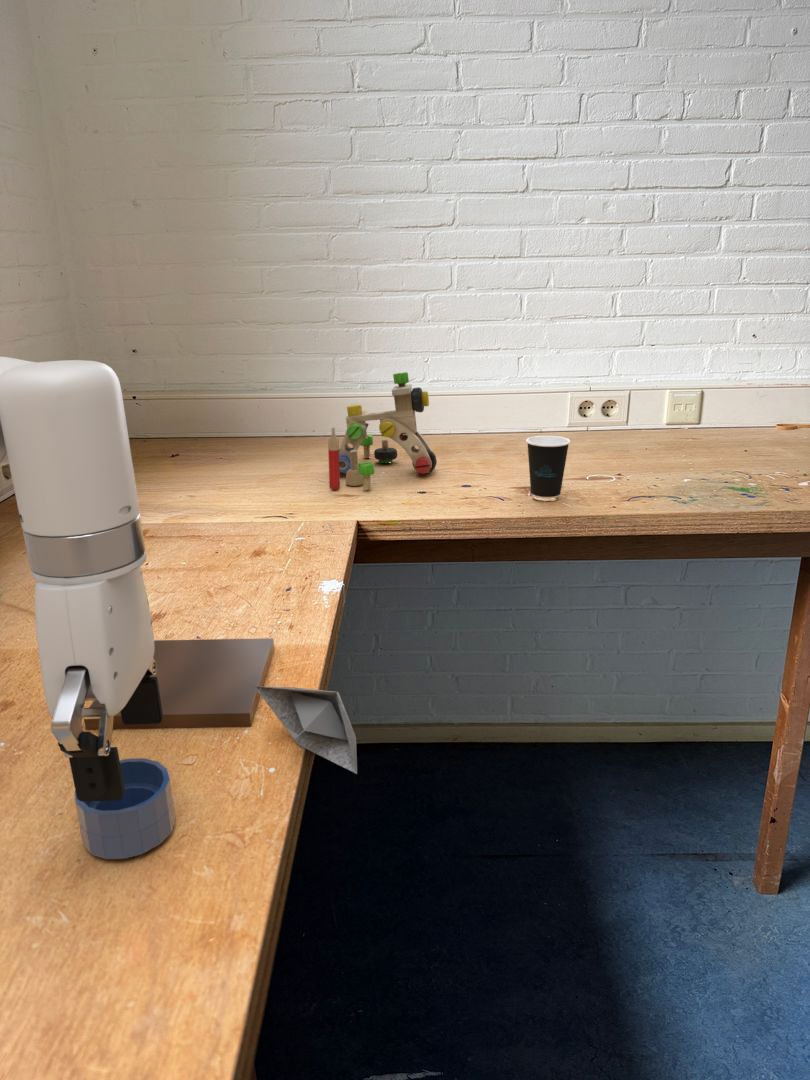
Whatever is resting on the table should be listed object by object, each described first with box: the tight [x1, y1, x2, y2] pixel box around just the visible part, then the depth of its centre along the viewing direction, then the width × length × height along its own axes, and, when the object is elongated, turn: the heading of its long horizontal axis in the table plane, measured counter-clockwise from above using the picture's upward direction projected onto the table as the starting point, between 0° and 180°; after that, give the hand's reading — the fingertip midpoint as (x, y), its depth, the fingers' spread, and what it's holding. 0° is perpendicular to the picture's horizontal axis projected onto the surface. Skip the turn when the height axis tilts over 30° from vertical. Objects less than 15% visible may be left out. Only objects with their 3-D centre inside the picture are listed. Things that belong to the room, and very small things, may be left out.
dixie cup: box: [525, 435, 571, 499], centre depth 146 cm, size 8×8×11 cm
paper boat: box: [254, 686, 358, 775], centre depth 72 cm, size 12×6×9 cm
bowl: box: [74, 757, 176, 860], centre depth 62 cm, size 7×7×5 cm
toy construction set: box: [327, 371, 438, 491], centre depth 161 cm, size 27×22×21 cm
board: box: [83, 637, 275, 730], centre depth 84 cm, size 16×16×2 cm
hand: (124, 757), depth 60 cm, fingers open, 9 cm apart
